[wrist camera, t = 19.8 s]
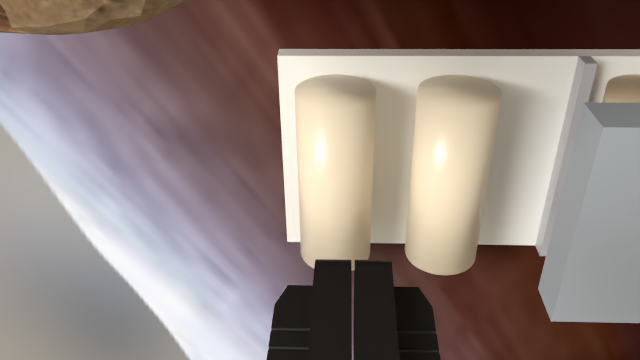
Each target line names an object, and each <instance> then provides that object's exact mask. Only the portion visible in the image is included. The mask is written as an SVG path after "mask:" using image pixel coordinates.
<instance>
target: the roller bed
mask: <svg viewBox="0 0 640 360" xmlns="http://www.w3.org/2000/svg"><path fill="white" fill-rule="evenodd" d="M277 58H278V77H279V95H280V113H281V132H282V150H283V169H284V187H285V205H286V224H287V242H301V256H302V258H303V260H304V261H305V262H306V263H307V264H308V265H309V266H311V267H312V268H314V267H315V259H337V260H351V271H353V270H354V266H355V260H368V258H369V255H370V243H405V254H406V256H407V258H408V260H409V261H410V262H411V263H412V264H413V265H414V266H416V267H417V268H419V269H421V270H423V271H425V272H428V273H432V274H437V275H454V274H458V273H461V272H464V271H466V270H467V269H469V268H470V267H471V266H472V265H473V264H474V262H475V258H476V252H477V246H478V245H535V246H536V248H537V251H538V253H539V255H540V256H546V254H547V250H548V246H549V242H550V238H551V234H552V230H553V226H554V222H555V218H556V213H557V209H558V205H559V201H560V197H561V193H562V189H563V185H564V181H565V177H566V172H567V168H568V164H569V160H570V156H571V152H572V148H573V144H574V140H575V135H576V131H577V127H578V123H579V119H580V115H581V111H582V107H583V103H602V101H603V97H604V94H605V90H606V86H607V83H608V81H609V80H610V79H612V78H614V77H617V76H621V75H629V74H640V49H279V52H278V55H277Z"/></svg>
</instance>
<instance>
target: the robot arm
mask: <svg viewBox="0 0 640 360" xmlns="http://www.w3.org/2000/svg"><path fill="white" fill-rule="evenodd" d="M267 360H352V335H351V260H337V259H315V267H314V280H313V286H301V285H288V286H287V288H286V289H285V291H284V292H283V294H282V295H281V296H280V298H279V299H278V301H277V302H276V304H275V306H274V313H273V320H272V330H271V334H270V341H269V350H268V354H267ZM354 360H440V354H439V347H438V341H437V335H436V328H435V321H434V315H433V308H432V306H431V305H430V303H429V302H428V300H427V299H426V297H425V296H424V295H423V293H422V292H421V290H420V289H419V287H394V285H393V273H392V263H391V260H355V266H354Z"/></svg>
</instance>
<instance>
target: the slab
mask: <svg viewBox="0 0 640 360" xmlns="http://www.w3.org/2000/svg"><path fill="white" fill-rule="evenodd" d="M538 290H539V292H540V295H541V297H542V300H543V302H544V305H545V307H546V310H547V312H548V315H549V318H550V320H551V321H563V322H613V323H640V103H583V107H582V111H581V115H580V119H579V123H578V127H577V131H576V135H575V140H574V144H573V148H572V152H571V156H570V160H569V164H568V168H567V172H566V177H565V181H564V185H563V189H562V193H561V197H560V201H559V205H558V209H557V213H556V218H555V222H554V226H553V230H552V234H551V238H550V242H549V246H548V250H547V254H546V259H545V263H544V267H543V271H542V275H541V279H540V283H539V287H538Z"/></svg>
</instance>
